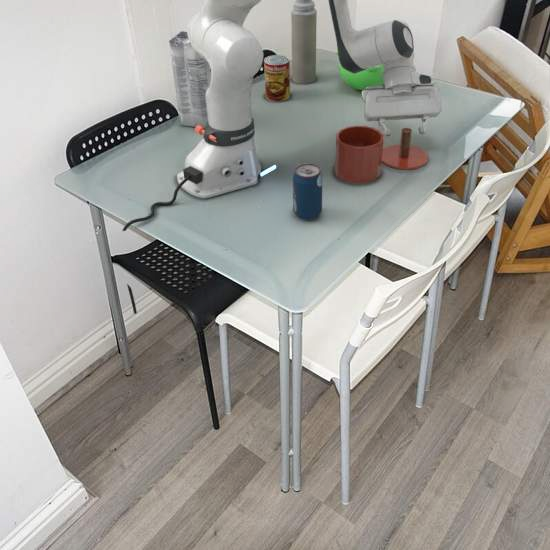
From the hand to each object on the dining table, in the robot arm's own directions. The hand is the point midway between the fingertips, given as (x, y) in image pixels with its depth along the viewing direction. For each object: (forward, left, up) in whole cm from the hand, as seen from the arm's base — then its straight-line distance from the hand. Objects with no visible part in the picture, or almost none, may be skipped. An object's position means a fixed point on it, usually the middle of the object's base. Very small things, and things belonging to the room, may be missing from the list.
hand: (404, 134), depth 164 cm
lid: (-1, -1, -6) cm, 6 cm away
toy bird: (+23, +39, -7) cm, 46 cm away
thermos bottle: (+13, +58, -7) cm, 60 cm away
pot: (-15, +2, -7) cm, 16 cm away
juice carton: (-31, +54, -7) cm, 62 cm away
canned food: (-2, +53, -7) cm, 53 cm away
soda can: (-37, -4, -7) cm, 38 cm away
